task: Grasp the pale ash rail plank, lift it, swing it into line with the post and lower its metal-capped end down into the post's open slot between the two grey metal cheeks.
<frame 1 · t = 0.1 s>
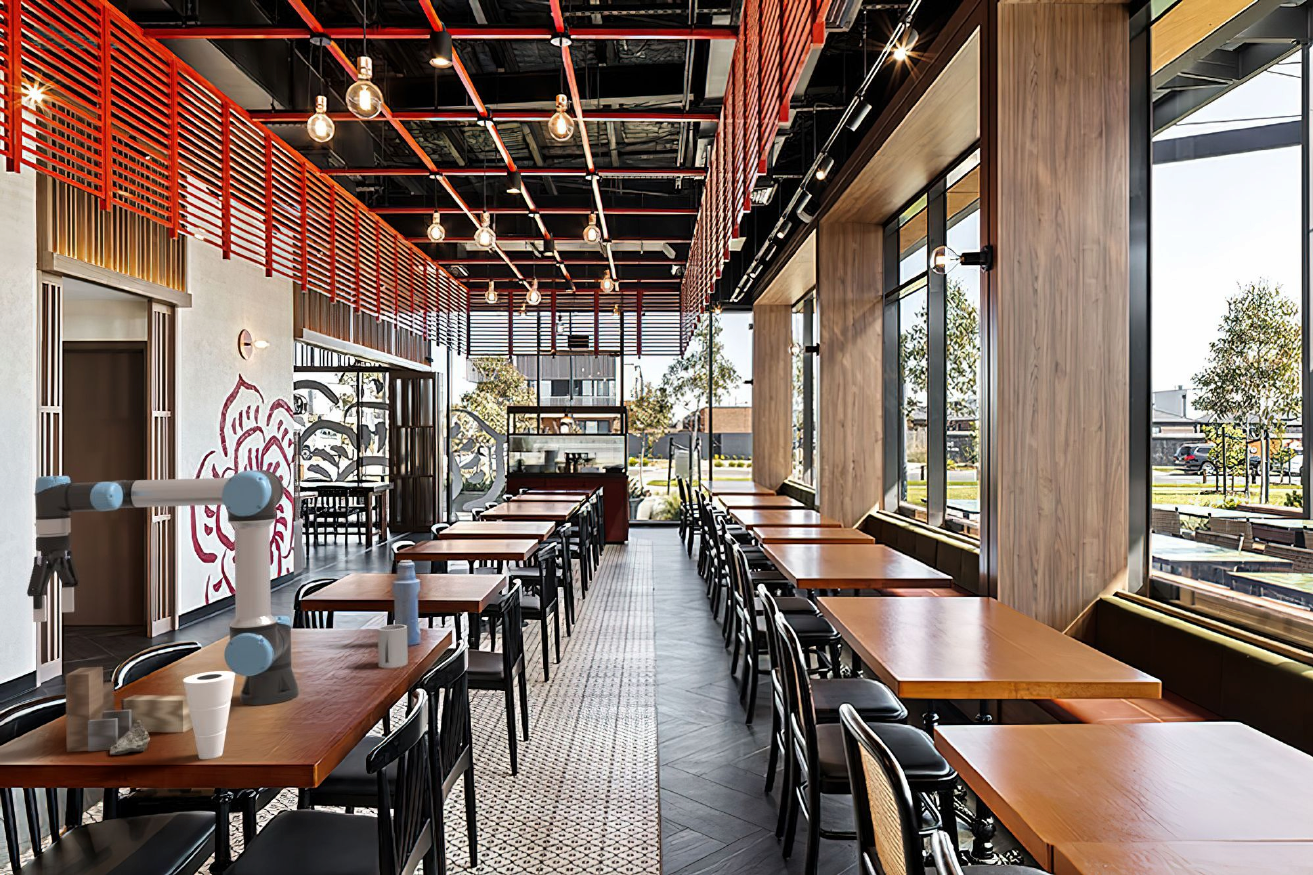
hand: (54, 616, 227), 28 cm above the table, fingers open, 13 cm apart
rock sample: (131, 752, 205), on the table
post: (96, 745, 209), on the table
bottle: (407, 644, 314), on the table
rail: (159, 729, 221), on the table
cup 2: (210, 756, 200), on the table
cup: (393, 664, 284), on the table
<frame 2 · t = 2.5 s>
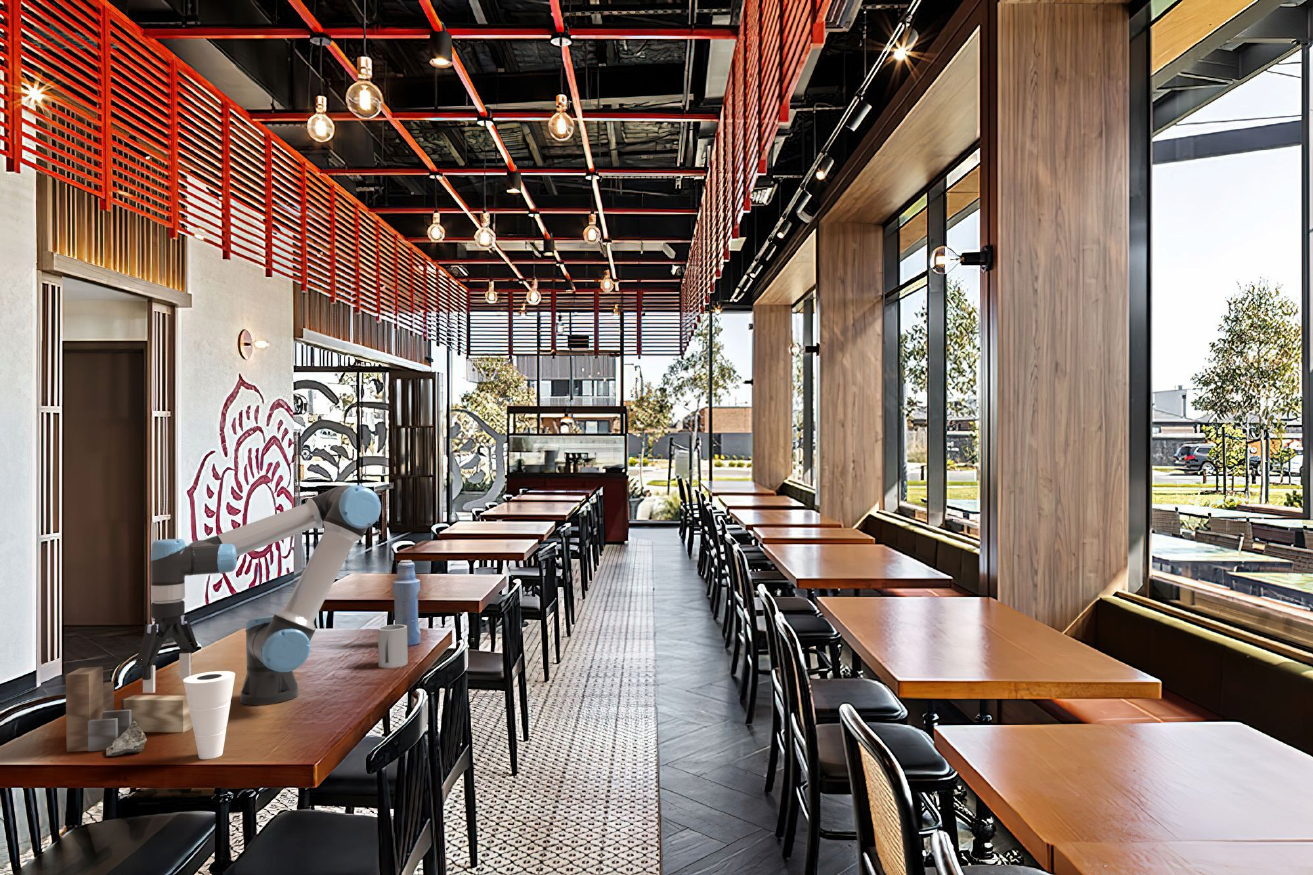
hand: (167, 685, 220), 11 cm above the table, fingers open, 13 cm apart
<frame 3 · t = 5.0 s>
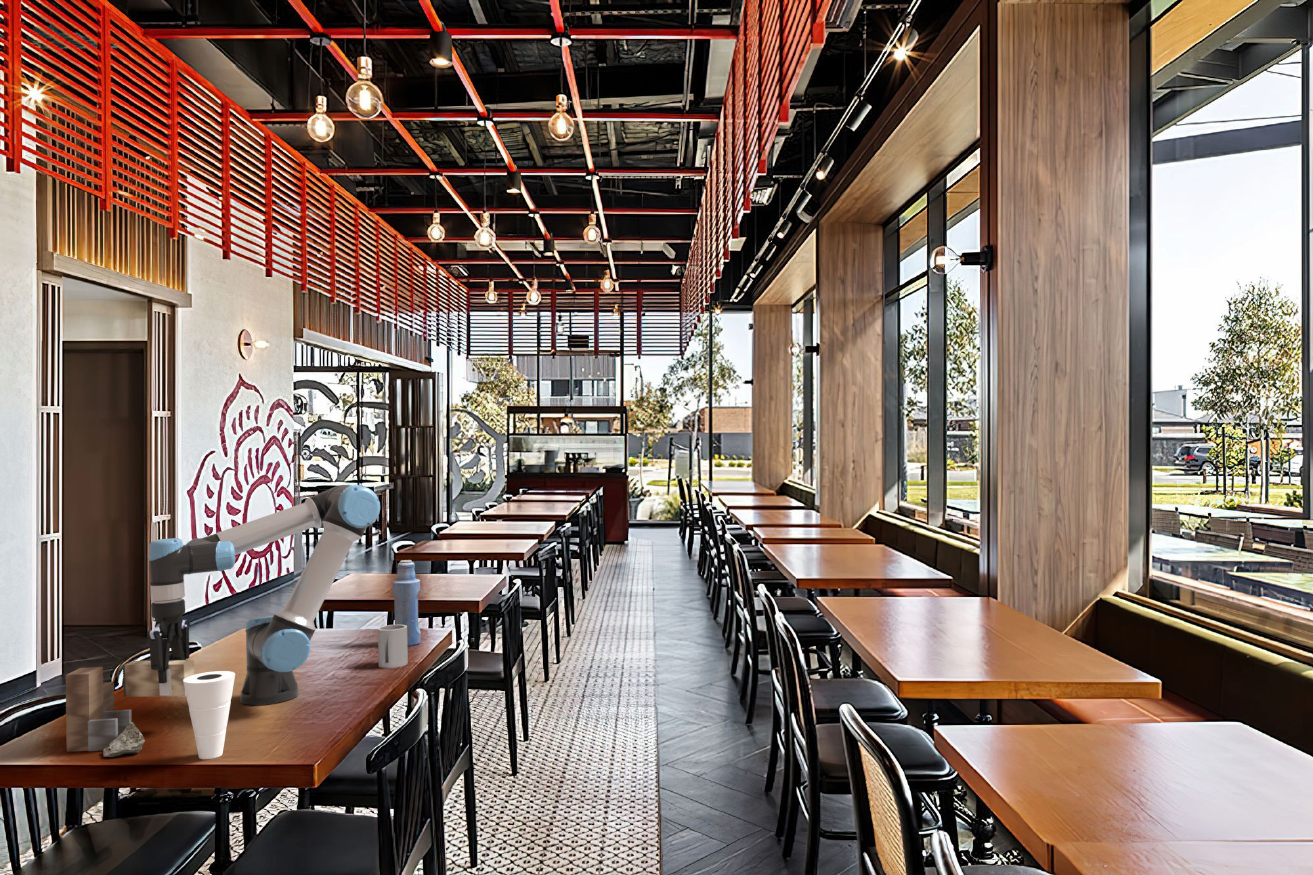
hand: (172, 692, 221), 9 cm above the table, fingers closed on rail, 4 cm apart
rail: (160, 693, 221), point 9 cm above the table, touching gripper
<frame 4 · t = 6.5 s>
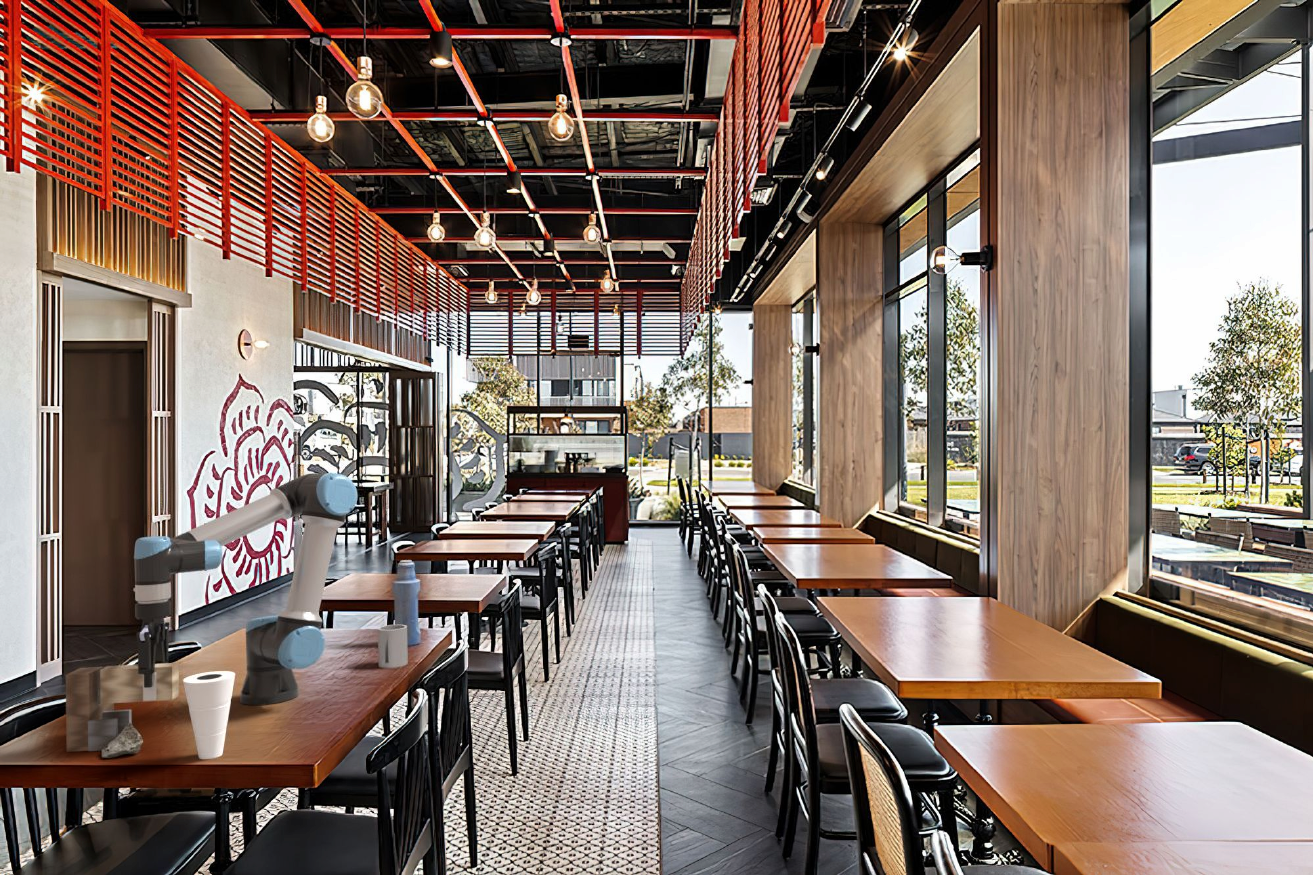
hand: (154, 697, 211), 11 cm above the table, fingers closed on rail, 4 cm apart
rail: (140, 699, 211), point 10 cm above the table, touching gripper
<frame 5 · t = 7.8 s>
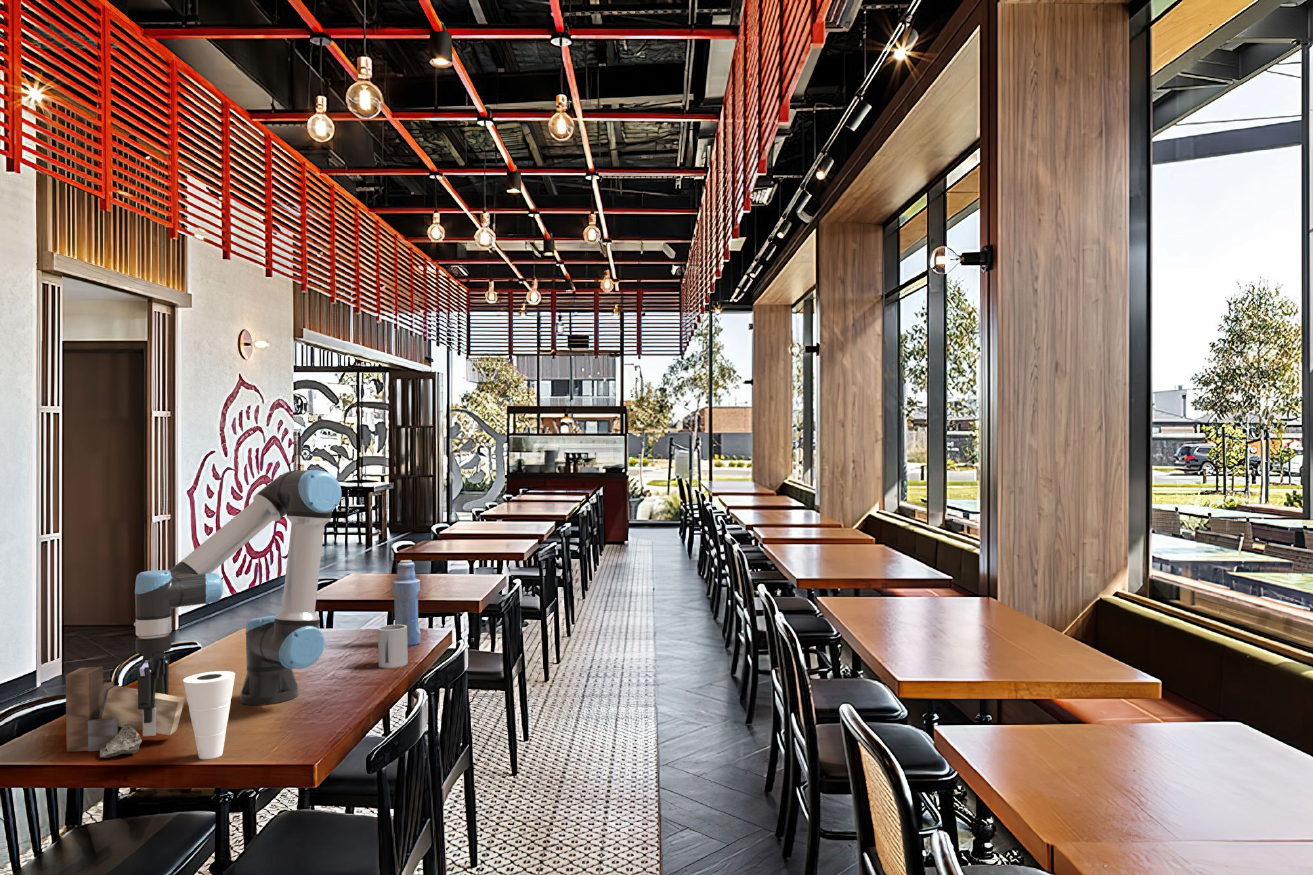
hand: (153, 732, 211), 2 cm above the table, fingers closed on rail, 4 cm apart
rock sample: (121, 755, 202), on the table, touching post, rail
rail: (139, 726, 210), point 4 cm above the table, tilted 14°, touching gripper, rock sample
everything else where it was.
when the fingers open (1 cm above the table, at t = 8.3 s): rail drops 4 cm, on the table.
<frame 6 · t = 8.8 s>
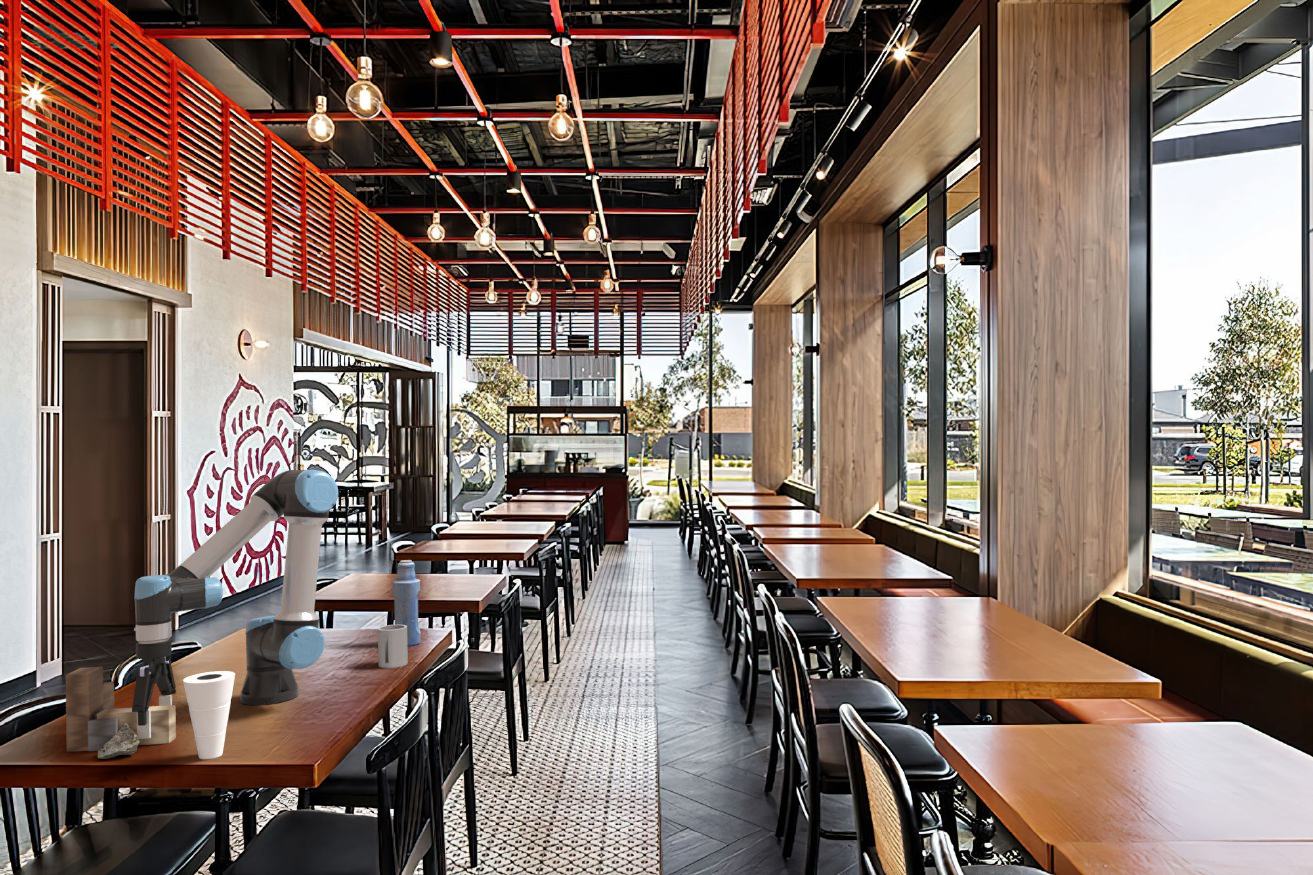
hand: (155, 729, 211), 3 cm above the table, fingers open, 12 cm apart
rock sample: (119, 755, 202), on the table
rail: (137, 742, 210), on the table
everything else where it was.
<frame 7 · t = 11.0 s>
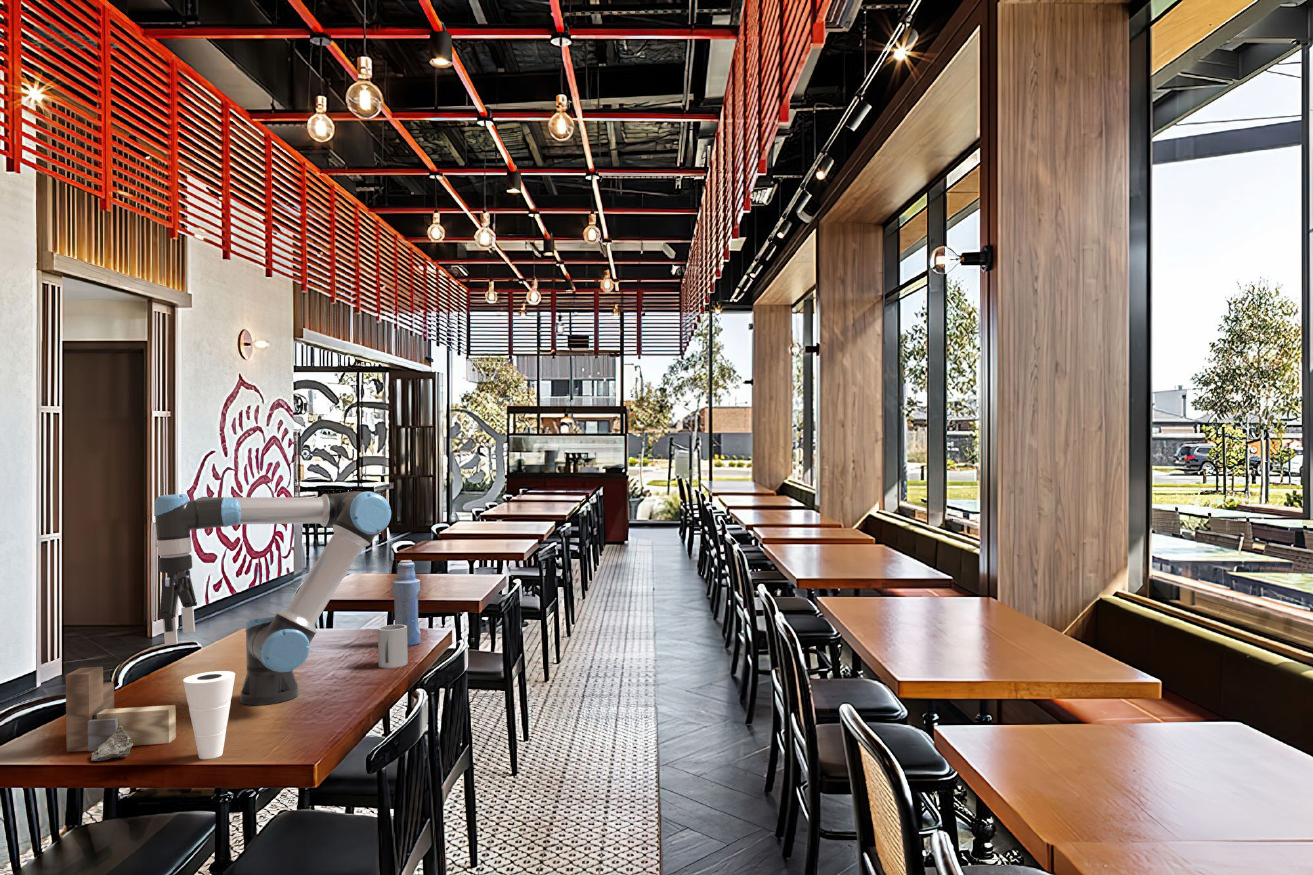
hand: (180, 638, 222), 23 cm above the table, fingers open, 13 cm apart
rock sample: (113, 758, 201), on the table
everything else where it was.
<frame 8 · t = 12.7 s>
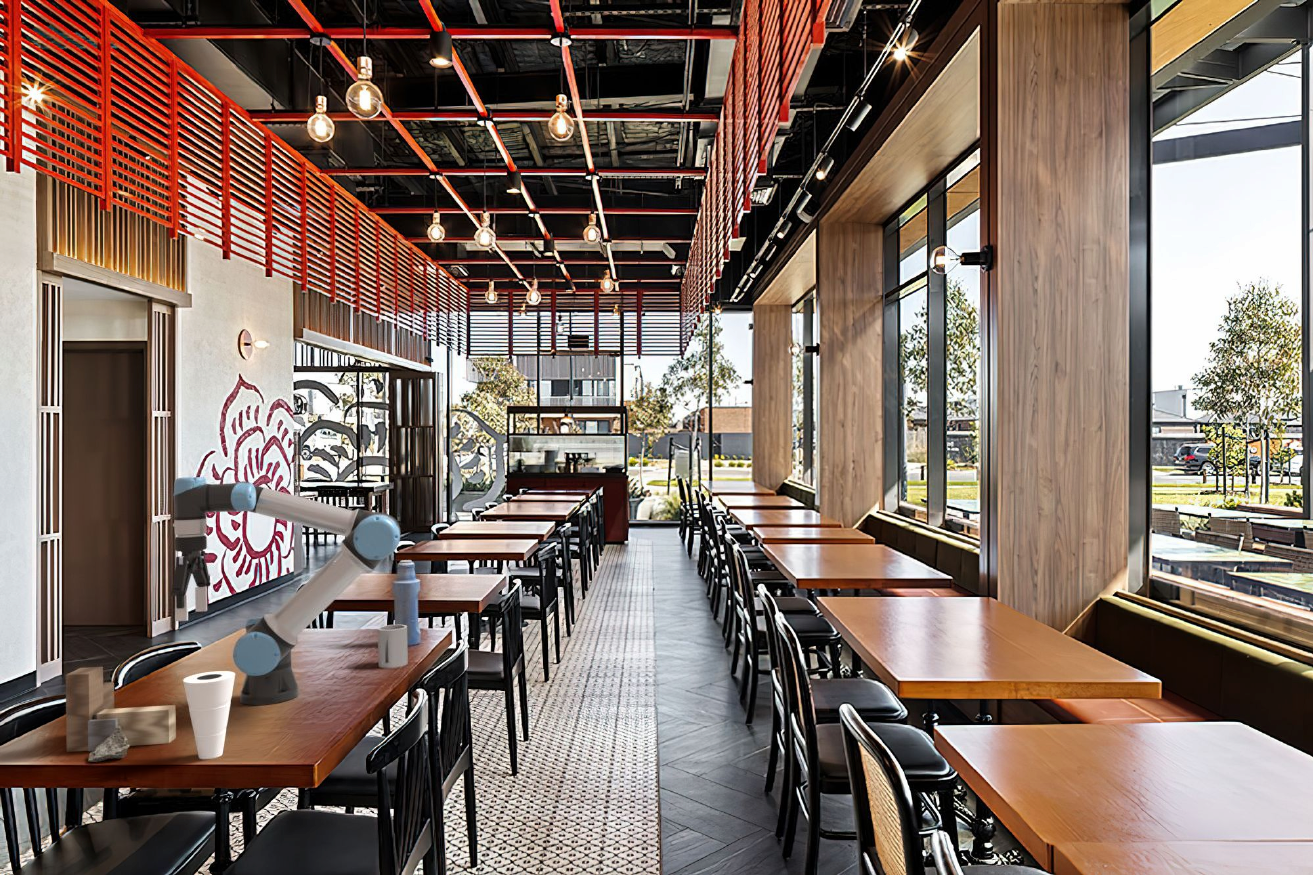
hand: (191, 615, 231), 27 cm above the table, fingers open, 13 cm apart
at the end: rail 1.2 cm from the target spot on the table beside the post, on the table; rail tilted 0°; the gripper is holding nothing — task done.
